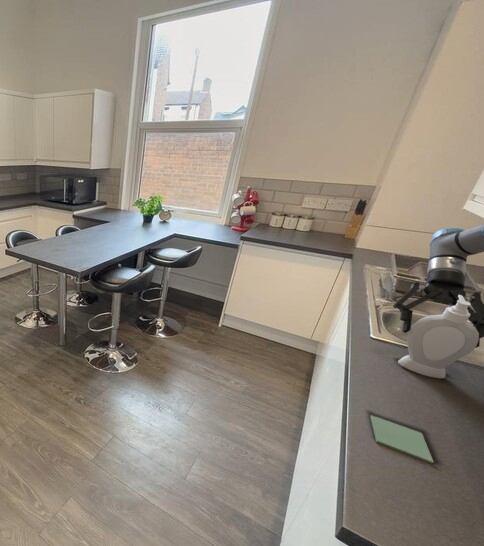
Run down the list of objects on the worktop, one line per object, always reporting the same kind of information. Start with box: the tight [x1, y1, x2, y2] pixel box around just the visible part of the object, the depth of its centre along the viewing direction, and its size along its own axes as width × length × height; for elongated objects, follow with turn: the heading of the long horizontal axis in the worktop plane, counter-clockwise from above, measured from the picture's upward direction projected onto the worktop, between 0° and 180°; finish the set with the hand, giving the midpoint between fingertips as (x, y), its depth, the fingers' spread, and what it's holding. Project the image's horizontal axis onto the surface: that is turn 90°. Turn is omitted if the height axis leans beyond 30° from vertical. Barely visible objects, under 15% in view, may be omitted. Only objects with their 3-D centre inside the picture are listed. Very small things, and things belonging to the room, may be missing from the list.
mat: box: [369, 415, 435, 465], centre depth 71 cm, size 9×9×1 cm
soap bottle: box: [397, 295, 479, 380], centre depth 89 cm, size 13×8×24 cm, turn 50°
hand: (438, 338), depth 89 cm, fingers closed on soap bottle, 13 cm apart
